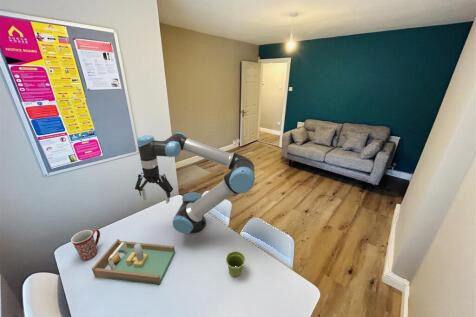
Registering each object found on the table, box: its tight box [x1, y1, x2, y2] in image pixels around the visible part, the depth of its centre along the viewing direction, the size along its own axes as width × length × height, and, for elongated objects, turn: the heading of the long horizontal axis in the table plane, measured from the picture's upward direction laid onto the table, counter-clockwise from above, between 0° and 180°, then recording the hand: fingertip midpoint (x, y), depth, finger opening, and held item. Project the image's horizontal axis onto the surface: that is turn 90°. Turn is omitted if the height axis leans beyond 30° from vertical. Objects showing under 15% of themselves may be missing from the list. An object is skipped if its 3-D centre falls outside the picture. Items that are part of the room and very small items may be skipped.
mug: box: [70, 228, 101, 261], centre depth 104 cm, size 13×9×14 cm
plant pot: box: [225, 250, 246, 278], centre depth 96 cm, size 9×9×9 cm
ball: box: [109, 252, 121, 265], centre depth 100 cm, size 5×5×5 cm
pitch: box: [91, 239, 176, 286], centre depth 98 cm, size 32×18×9 cm, turn 84°
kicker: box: [126, 242, 148, 267], centre depth 97 cm, size 8×6×11 cm
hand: (156, 201), depth 106 cm, fingers open, 13 cm apart
